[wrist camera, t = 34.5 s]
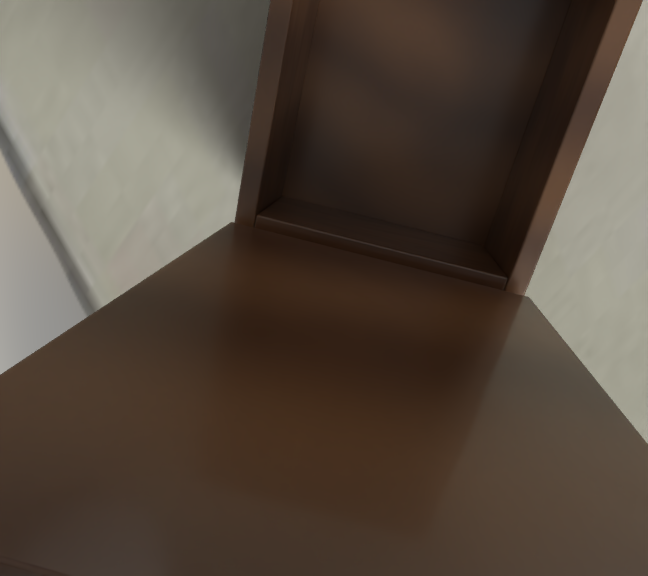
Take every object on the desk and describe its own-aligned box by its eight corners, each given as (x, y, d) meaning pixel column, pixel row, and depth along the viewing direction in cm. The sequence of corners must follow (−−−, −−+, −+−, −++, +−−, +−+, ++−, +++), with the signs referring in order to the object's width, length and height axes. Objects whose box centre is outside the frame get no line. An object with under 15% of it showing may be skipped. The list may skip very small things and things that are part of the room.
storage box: (326, -119, 20) (303, -210, 14) (607, -56, 19) (694, -126, 14) (267, 204, 24) (232, 228, 19) (491, 260, 24) (522, 302, 18)
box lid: (-198, 503, 5) (-145, 760, 6) (967, 836, 4) (716, 1025, 6) (231, 221, 18) (214, 327, 20) (529, 296, 18) (487, 399, 20)
